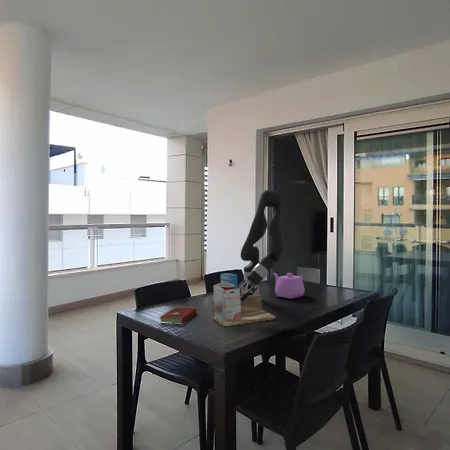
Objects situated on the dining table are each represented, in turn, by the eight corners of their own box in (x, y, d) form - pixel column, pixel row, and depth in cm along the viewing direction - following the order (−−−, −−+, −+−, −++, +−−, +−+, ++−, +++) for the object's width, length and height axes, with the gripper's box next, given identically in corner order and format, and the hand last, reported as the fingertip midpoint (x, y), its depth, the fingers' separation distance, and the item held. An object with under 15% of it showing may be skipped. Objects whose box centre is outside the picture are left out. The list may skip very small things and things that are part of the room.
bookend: (214, 316, 185) (213, 285, 185) (215, 316, 186) (215, 285, 185) (222, 322, 174) (222, 289, 174) (224, 322, 174) (224, 289, 174)
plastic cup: (233, 306, 211) (232, 285, 210) (215, 305, 213) (214, 285, 212) (236, 302, 221) (236, 282, 221) (219, 301, 223) (218, 282, 223)
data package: (220, 290, 256) (220, 273, 256) (224, 289, 259) (224, 273, 259) (233, 292, 248) (233, 275, 248) (237, 291, 251) (237, 274, 251)
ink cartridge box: (237, 315, 186) (237, 287, 185) (241, 318, 181) (240, 288, 181) (221, 317, 183) (221, 288, 183) (225, 319, 178) (224, 290, 178)
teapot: (312, 295, 235) (312, 272, 234) (291, 301, 221) (290, 276, 221) (285, 290, 252) (285, 269, 252) (264, 295, 239) (263, 272, 239)
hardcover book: (196, 314, 196) (196, 306, 196) (181, 326, 176) (181, 317, 176) (176, 313, 199) (176, 305, 199) (159, 324, 179) (159, 316, 179)
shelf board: (212, 318, 187) (212, 300, 187) (260, 311, 198) (260, 294, 197) (224, 326, 172) (223, 307, 172) (275, 319, 183) (275, 300, 183)
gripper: (247, 268, 193) (227, 291, 189) (259, 271, 180) (238, 296, 176) (256, 277, 195) (237, 300, 191) (269, 281, 182) (248, 306, 178)
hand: (238, 298), depth 184 cm, fingers open, 8 cm apart
